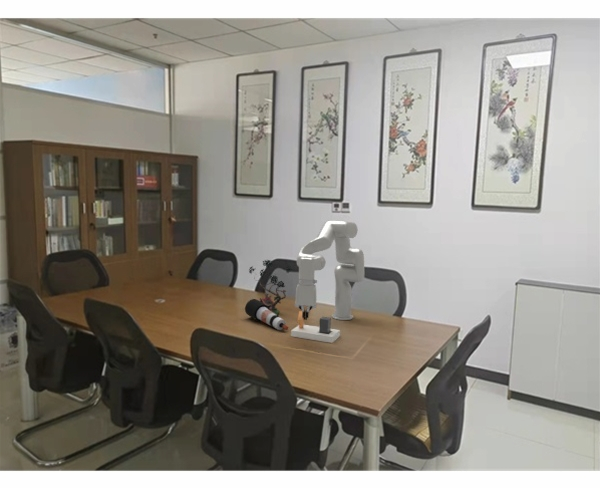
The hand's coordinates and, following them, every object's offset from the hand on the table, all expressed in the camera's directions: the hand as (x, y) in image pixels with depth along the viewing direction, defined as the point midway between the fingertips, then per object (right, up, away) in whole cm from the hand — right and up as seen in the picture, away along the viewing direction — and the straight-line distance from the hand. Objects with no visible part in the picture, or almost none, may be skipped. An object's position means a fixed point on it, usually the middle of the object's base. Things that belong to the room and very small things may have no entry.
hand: (305, 319), depth 227 cm
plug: (+10, -11, +8) cm, 17 cm away
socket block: (+5, -11, +10) cm, 16 cm away
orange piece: (-2, -7, +5) cm, 9 cm away
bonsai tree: (-24, -4, +59) cm, 64 cm away
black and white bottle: (-20, -8, +31) cm, 38 cm away
